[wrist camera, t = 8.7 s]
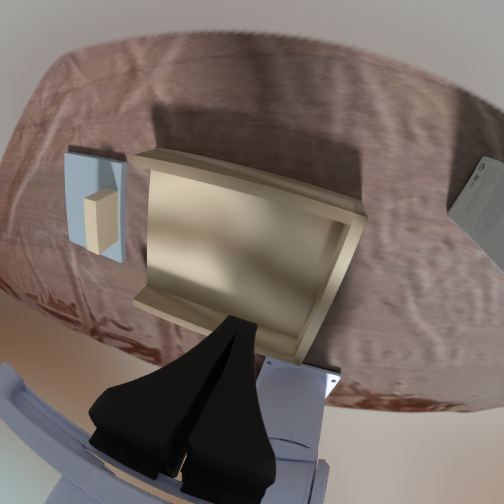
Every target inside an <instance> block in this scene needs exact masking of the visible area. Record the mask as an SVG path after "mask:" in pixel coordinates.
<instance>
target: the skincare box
mask: <svg viewBox="0 0 504 504" xmlns="http://www.w3.org/2000/svg"><path fill="white" fill-rule="evenodd" d="M447 217H448V218H449V219H450V220H452V221H453V222H454V223H455V224H456V225H457V226H458V227H459V228H460V229H461V230H462V231H463V232H464V233H465V234H466V235H468V236H469V237H470V238H471V239H472V240H473V241H474V242H475V243H476V244H477V246H478V247H479V248H480V249H481V250H482V251H483V252H484V253H485V254H486V255H487V256H488V257H489V258H490V260H491V261H492V262H493V263H494V264H495V265H496V266H497V267H498V268H499V270H500V271H501V272H502V273H503V274H504V163H503V162H500V161H498V160H495V159H492V158H489V157H486V156H483V157H482V158H481V160H480V162H479V164H478V165H477V167H476V169H475V171H474V173H473V174H472V176H471V178H470V179H469V181H468V182H467V184H466V186H465V187H464V189H463V190H462V191H461V193H460V195H459V196H458V198H457V199H456V201H455V202H454V204H453V205H452V207H451V208H450V210H449V211H448V213H447Z"/></svg>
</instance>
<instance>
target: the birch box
mask: <svg viewBox="0 0 504 504" xmlns="http://www.w3.org/2000/svg"><path fill="white" fill-rule="evenodd" d="M133 166H134V167H139V168H144V169H148V170H151V175H150V189H149V205H148V230H147V285H146V286H145V287H144V288H143V289H142V291H141V292H140V293H139V294H138V295H137V296H136V297H135V298H134V299H133V303H134V306H136V307H138V308H140V309H142V310H144V311H147V312H149V313H151V314H154V315H156V316H158V317H161V318H163V319H165V320H168V321H170V322H173V323H175V324H178V325H180V326H183V327H185V328H188V329H190V330H193V331H195V332H198V333H200V334H203V335H206V336H208V335H209V334H211V333H212V332H213V331H214V330H215V329H216V328H217V327H218V326H219V325H220V324H221V323H222V322H223V321H224V319H225V318H226V317H227V316H229V315H232V316H235V317H238V318H241V319H244V320H247V321H250V322H253V323H256V324H257V326H258V328H257V331H256V336H255V346H254V353H257V354H260V355H263V356H267V357H270V358H273V359H276V360H280V361H283V362H286V363H290V364H293V365H297V366H300V365H301V364H302V362H303V360H304V358H305V356H306V354H307V352H308V350H309V348H310V347H311V345H312V343H313V341H314V339H315V337H316V335H317V333H318V331H319V329H320V327H321V325H322V323H323V321H324V319H325V316H326V314H327V312H328V310H329V308H330V306H331V304H332V302H333V300H334V297H335V295H336V293H337V291H338V289H339V286H340V284H341V282H342V280H343V277H344V275H345V273H346V270H347V268H348V266H349V263H350V261H351V259H352V256H353V254H354V251H355V249H356V246H357V244H358V242H359V239H360V236H361V234H362V231H363V229H364V226H365V224H366V221H367V218H368V217H367V214H366V211H365V208H364V205H363V203H362V201H361V200H359V199H356V198H353V197H350V196H347V195H344V194H341V193H338V192H335V191H331V190H328V189H325V188H322V187H319V186H316V185H312V184H309V183H306V182H302V181H299V180H295V179H292V178H288V177H285V176H281V175H278V174H274V173H270V172H267V171H263V170H259V169H255V168H251V167H247V166H243V165H239V164H235V163H231V162H227V161H223V160H218V159H214V158H209V157H205V156H200V155H195V154H191V153H186V152H181V151H176V150H170V149H165V148H156V149H153V150H149V151H145V152H142V153H139V154H135V155H133Z"/></svg>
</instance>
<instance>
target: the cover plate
mask: <svg viewBox="0 0 504 504" xmlns="http://www.w3.org/2000/svg"><path fill="white" fill-rule="evenodd" d="M126 171H127V162H125V161H120V160H115V159H109V158H104V157H99V156H93V155H88V154H82V153H76V152H70V151H69V152H66V153H65V193H66V208H67V220H68V230H69V239H70V241H72V242H74V243H76V244H79V245H81V246H83V247H85V248H87V250H89V251H91V252H93V253H96V254H98V255H100V254H101V255H104V256H106V257H108V258H111V259H113V260H115V261H118V262H120V263H123V262H124V261H125V260H126V248H125V194H126Z"/></svg>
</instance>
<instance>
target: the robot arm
mask: <svg viewBox="0 0 504 504" xmlns="http://www.w3.org/2000/svg"><path fill="white" fill-rule="evenodd" d="M257 328H258V326H257V324H256V323H253V322H250V321H247V320H244V319H241V318H238V317H235V316H232V315H229V316H227V317H226V318H225V319H224V321H223V322H222V323H221V324H220V325H219V326H218V327H217V328H216V329H215V330H214V331H213V332H212V333H211V334H209V335H208V336H207V337H206V338H205V339H204V340H202V341H201V342H200V343H199V344H198V345H196V346H195V347H194V348H192V349H191V350H189V351H188V352H187V353H185V354H184V355H182V356H181V357H179V358H178V359H176V360H175V361H173V362H171V363H170V364H168V365H166V366H164V367H162V368H160V369H159V370H156V371H154V372H153V373H150V374H148V375H146V376H143V377H140V378H138V379H136V380H133V381H130V382H127V383H124V384H121V385H117V386H114V387H110V388H108V389H107V390H105V391H104V392H103V393H102V395H100V396H99V397H98V399H97V400H96V401H95V403H94V404H93V405H92V407H91V408H90V410H89V412H88V413H89V416H90V418H91V420H92V421H93V423H94V425H95V426H96V428H97V429H96V431H95V432H94V434H93V435H90V434H89V433H87V432H86V431H84V430H83V429H81V428H80V427H78V426H77V425H75V424H74V423H73V422H71V421H70V420H68V419H67V418H66V417H64V416H63V415H62V414H60V413H59V412H58V411H56V410H55V409H54V408H53V407H51V406H50V405H49V404H47V403H46V402H45V401H44V400H43V399H41V398H40V397H39V396H38V395H37V394H35V393H34V392H33V391H32V390H31V389H30V388H29V387H28V386H27V385H26V384H25V382H24V380H23V379H22V378H21V376H20V375H19V374H18V373H17V372H16V371H15V370H14V369H13V368H12V367H11V366H10V365H9V364H8V363H7V362H4V363H3V364H2V365H1V366H0V418H1V419H2V420H3V421H4V422H5V423H6V424H7V425H8V427H9V428H10V429H11V430H12V431H13V432H14V433H15V434H16V435H17V436H18V437H19V438H20V439H21V440H22V441H24V443H25V444H27V445H28V446H29V447H30V448H31V449H32V450H33V451H34V452H36V454H38V455H39V456H40V457H41V458H42V459H43V460H45V461H46V462H47V463H48V464H49V465H51V466H52V467H53V468H54V469H56V470H57V471H58V472H59V473H61V474H62V477H61V478H60V480H59V481H58V483H57V484H56V486H55V488H54V489H53V491H52V492H51V494H50V495H49V497H48V499H47V500H46V502H45V503H44V504H173V503H170V502H168V501H166V500H163V499H161V498H159V497H157V496H154V495H152V494H150V493H148V492H146V491H144V490H142V489H140V488H138V487H136V486H134V485H132V484H130V483H128V482H126V481H124V480H122V479H120V478H118V477H116V476H115V474H114V473H113V472H112V471H111V470H109V469H108V468H107V467H106V466H105V464H104V463H103V462H102V461H101V460H99V459H98V458H96V457H95V456H94V455H92V454H91V453H93V454H95V455H96V456H98V457H99V458H101V459H103V460H104V461H106V462H107V463H109V464H111V465H113V466H114V467H116V468H118V469H120V470H122V471H123V472H125V473H127V474H129V475H131V476H133V477H135V478H137V479H139V480H141V481H143V482H145V483H147V484H149V485H151V486H153V487H155V488H158V489H160V490H162V491H164V492H167V493H169V494H171V495H174V496H176V497H179V498H181V499H184V500H186V501H189V502H192V503H195V504H323V502H324V497H325V492H326V487H327V481H328V474H329V465H328V464H327V463H325V460H324V459H319V460H318V465H317V456H318V445H319V439H320V433H321V426H322V419H323V411H324V403H325V398H326V397H327V396H328V395H329V393H330V392H331V391H332V389H333V388H334V387H335V385H336V384H337V383H338V381H339V380H340V378H341V375H340V374H339V373H336V372H332V371H328V370H324V369H321V368H317V367H313V366H309V365H306V364H301V365H300V366H297V365H293V364H290V363H286V362H283V361H280V360H276V359H273V358H270V357H267V356H266V358H265V361H264V363H263V366H262V369H261V371H260V374H259V376H258V379H257V381H255V368H254V346H255V336H256V331H257ZM269 361H270V362H269ZM333 379H334V380H333ZM85 449H87V450H88V451H90V452H91V453H90V452H88V451H87V450H85ZM186 453H187V457H186V459H185V462H184V464H183V466H182V468H181V470H180V467H181V465H182V463H183V460H184V458H185V455H186ZM316 466H317V469H316ZM179 470H180V471H181V472H182V481H178V480H176V479H173V478H175V477H177V475H178V472H179Z"/></svg>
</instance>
